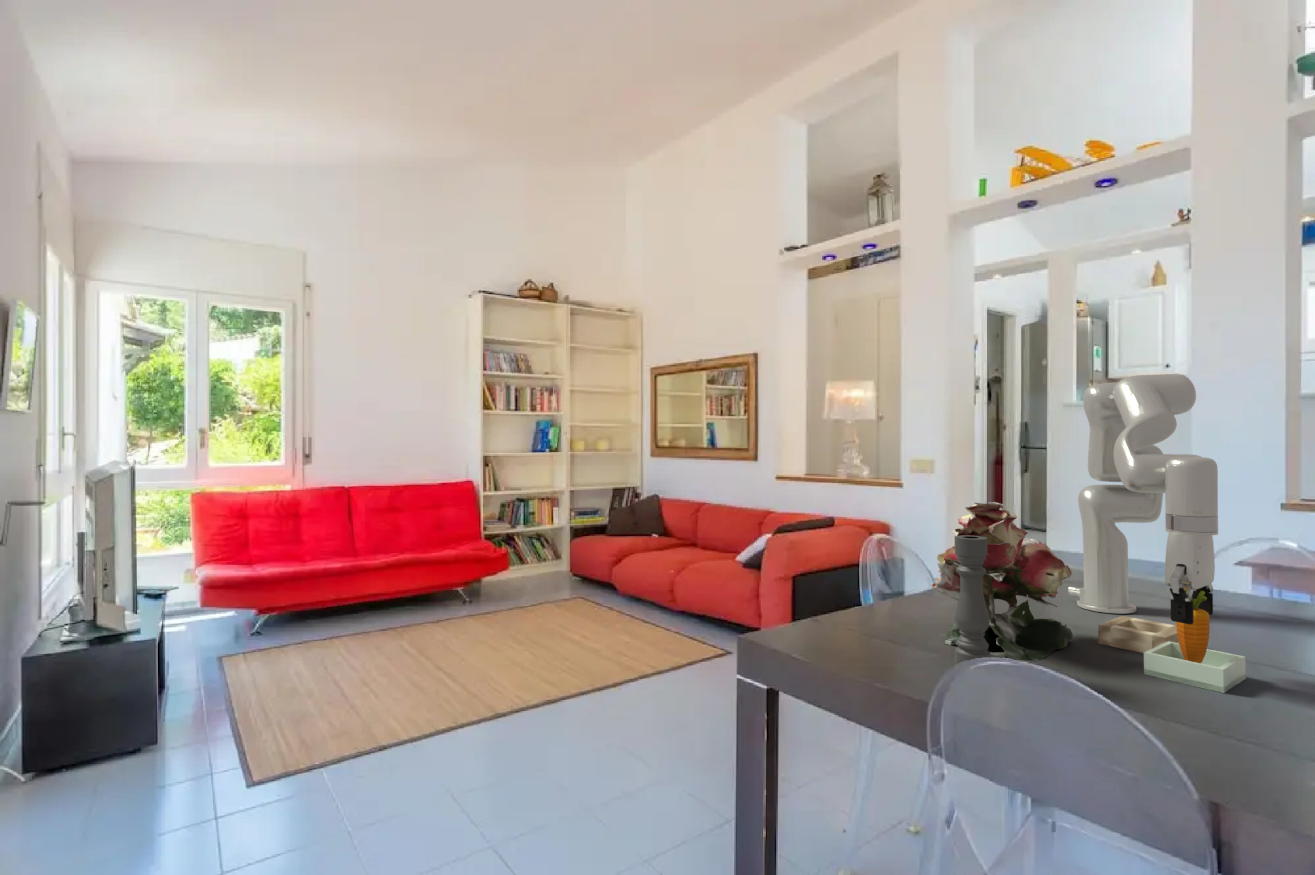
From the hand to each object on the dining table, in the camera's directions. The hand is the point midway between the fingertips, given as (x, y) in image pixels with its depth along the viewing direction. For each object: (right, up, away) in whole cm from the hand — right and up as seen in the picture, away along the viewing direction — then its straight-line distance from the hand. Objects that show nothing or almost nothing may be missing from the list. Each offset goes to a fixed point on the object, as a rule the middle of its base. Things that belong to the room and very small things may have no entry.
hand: (1192, 617), depth 122 cm
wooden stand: (+4, -11, +18) cm, 21 cm away
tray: (0, -11, -1) cm, 11 cm away
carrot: (0, -10, 0) cm, 10 cm away
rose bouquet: (-24, -11, +24) cm, 36 cm away
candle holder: (-38, -11, +5) cm, 40 cm away
